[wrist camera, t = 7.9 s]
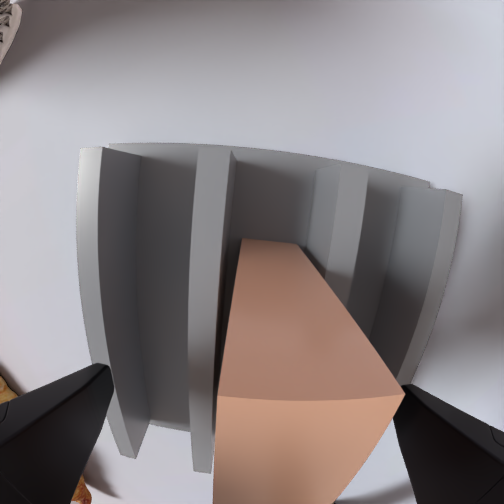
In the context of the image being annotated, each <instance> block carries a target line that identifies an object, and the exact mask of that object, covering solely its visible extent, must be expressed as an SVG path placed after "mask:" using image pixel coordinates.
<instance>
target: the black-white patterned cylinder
mask: <svg viewBox="0 0 504 504" xmlns="http://www.w3.org/2000/svg"><path fill="white" fill-rule="evenodd" d="M9 3H10V0H0V64H1V62H2V60H3V59H4V57H5V55H6V53H7V51H8V49H9V48H10V46H11V44H12V42H13V40H14V37H15V35H16V32H17V30H18V28H19V25H20V22H21V16H22V9H21V8H20V6H19V5H18V4H9Z"/></svg>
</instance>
